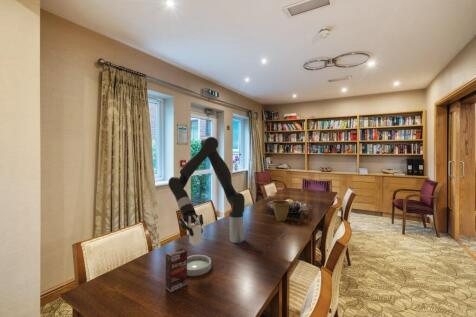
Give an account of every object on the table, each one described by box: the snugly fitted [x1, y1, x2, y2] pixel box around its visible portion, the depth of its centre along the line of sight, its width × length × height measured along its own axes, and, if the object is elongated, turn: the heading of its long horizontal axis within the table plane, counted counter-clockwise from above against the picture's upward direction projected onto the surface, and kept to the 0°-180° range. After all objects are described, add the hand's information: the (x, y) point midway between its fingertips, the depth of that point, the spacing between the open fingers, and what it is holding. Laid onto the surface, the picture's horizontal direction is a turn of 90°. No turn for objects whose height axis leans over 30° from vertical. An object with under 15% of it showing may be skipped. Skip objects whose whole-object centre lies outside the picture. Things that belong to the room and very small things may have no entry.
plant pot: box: [272, 199, 291, 222], centre depth 200 cm, size 15×15×16 cm
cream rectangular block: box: [188, 224, 202, 246], centre depth 120 cm, size 5×5×9 cm
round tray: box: [187, 254, 212, 277], centre depth 120 cm, size 16×16×3 cm
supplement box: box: [165, 248, 188, 293], centre depth 103 cm, size 9×5×16 cm, turn 136°
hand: (197, 234), depth 118 cm, fingers closed on cream rectangular block, 4 cm apart
